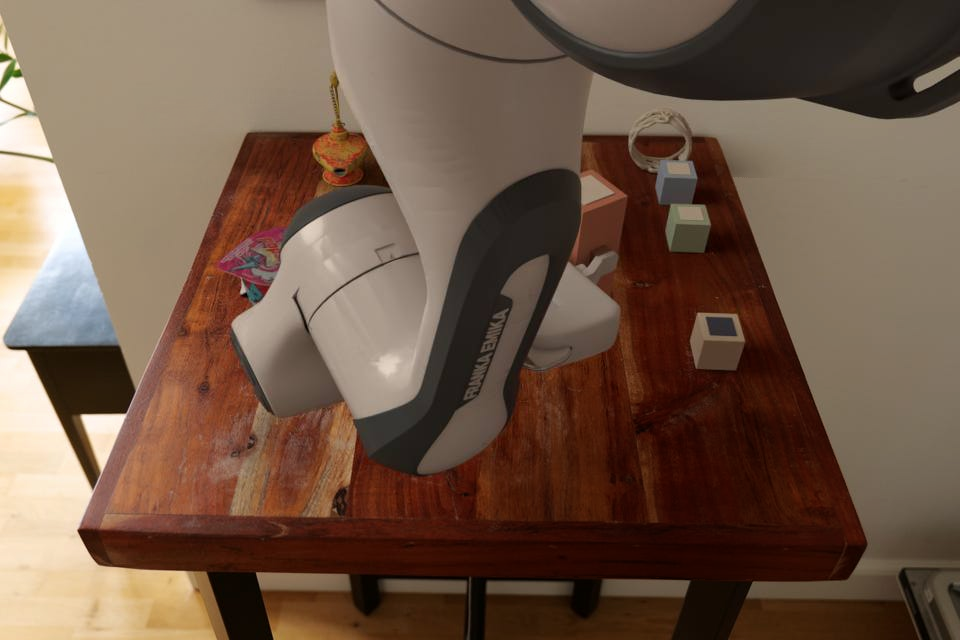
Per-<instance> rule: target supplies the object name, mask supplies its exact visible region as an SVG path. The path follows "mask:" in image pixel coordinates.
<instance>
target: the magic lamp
mask: <svg viewBox="0 0 960 640" xmlns="http://www.w3.org/2000/svg"><path fill="white" fill-rule="evenodd" d="M329 81H330V86H329V87H328V88H329V93H330V99H331V104H332V107H333V112H334V117H335V120H334V122H333V123H331V126H332V127H333V128H332V129H330V130H329V131H330V132H328V133H326V134H323V135H322V136H319V137H318V138H317V139H316V141H315V142H313V145H312V155H313V157H314V159H315V160H316V161H317V163H318V164H319V165H321V166H322V167H323V168H325V170H324V171H323V173H322V179H323V181H324V182H325V183H327V184H329V185H331V186H335V187H348V186H353V185H356V184H357V183H359V182H360V181H361V180H362V179H363V177H364V171H363V170H362V169H361V168H360V167H358V166H359V165H360V164H362V162H363V161H365V159H366V157H367V156H368V153H369V144H368V143H367V141H366V139H365V138H364V137H362V136H361V135H359V134H358V133H354V132H351V131H348V129H347V128H345V126H346V123H345V122H342V120H341V113H340V102H339V101H340V100H339V92H338V87H339V86H340V83H339V81H338V78H337V75H336V71H335V70H333V72H332V73H331V74H330V77H329Z"/></svg>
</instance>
